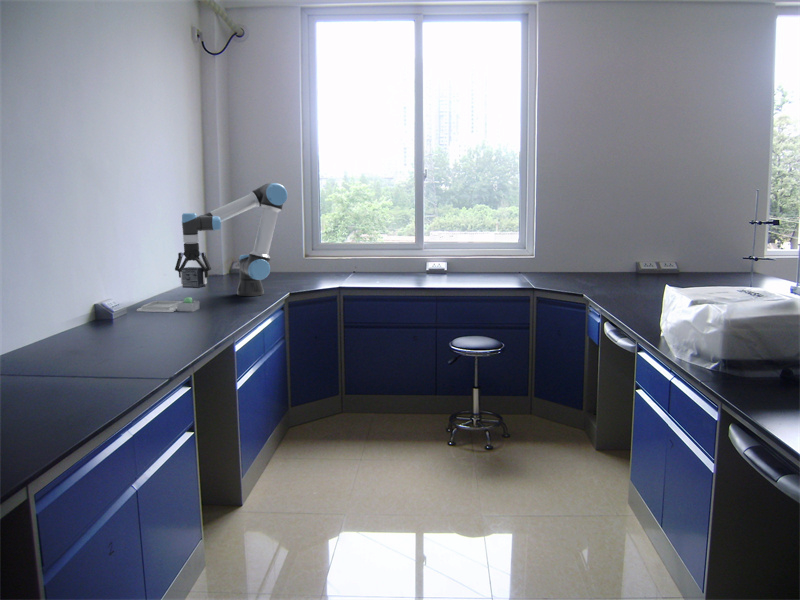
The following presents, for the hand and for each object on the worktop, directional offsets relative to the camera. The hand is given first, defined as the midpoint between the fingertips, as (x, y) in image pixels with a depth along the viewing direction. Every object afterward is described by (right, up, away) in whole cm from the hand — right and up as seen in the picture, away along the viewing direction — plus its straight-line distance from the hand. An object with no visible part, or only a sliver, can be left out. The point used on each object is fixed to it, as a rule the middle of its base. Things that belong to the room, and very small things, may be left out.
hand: (194, 283), depth 331 cm
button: (+4, -12, -21) cm, 24 cm away
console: (+4, -14, -21) cm, 25 cm away
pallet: (-10, -13, -18) cm, 24 cm away
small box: (0, -2, 0) cm, 2 cm away
